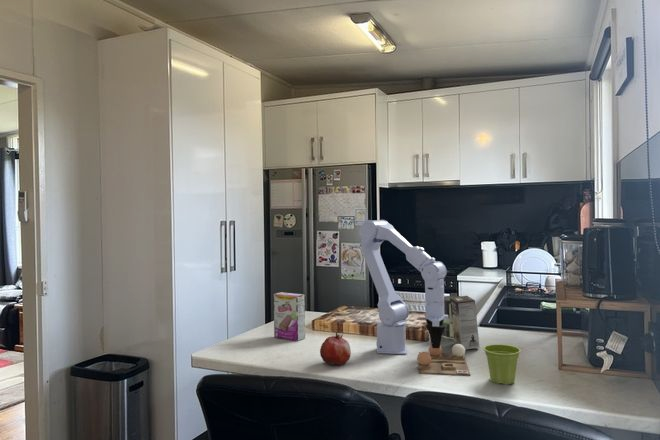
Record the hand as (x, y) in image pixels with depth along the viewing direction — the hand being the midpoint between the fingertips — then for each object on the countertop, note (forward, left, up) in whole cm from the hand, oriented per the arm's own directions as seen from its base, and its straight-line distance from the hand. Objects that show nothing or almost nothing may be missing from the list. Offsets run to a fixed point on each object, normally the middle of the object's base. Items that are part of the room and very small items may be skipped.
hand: (435, 344), depth 152 cm
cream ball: (+7, 0, -2) cm, 7 cm away
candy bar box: (-52, +19, -5) cm, 56 cm away
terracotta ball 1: (-4, -10, -2) cm, 11 cm away
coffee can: (+8, +29, -5) cm, 30 cm away
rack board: (+2, -5, -4) cm, 7 cm away
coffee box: (+11, +16, -4) cm, 20 cm away
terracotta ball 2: (0, 0, -2) cm, 2 cm away
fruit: (-30, -9, -5) cm, 32 cm away
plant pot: (+17, -18, -5) cm, 25 cm away
